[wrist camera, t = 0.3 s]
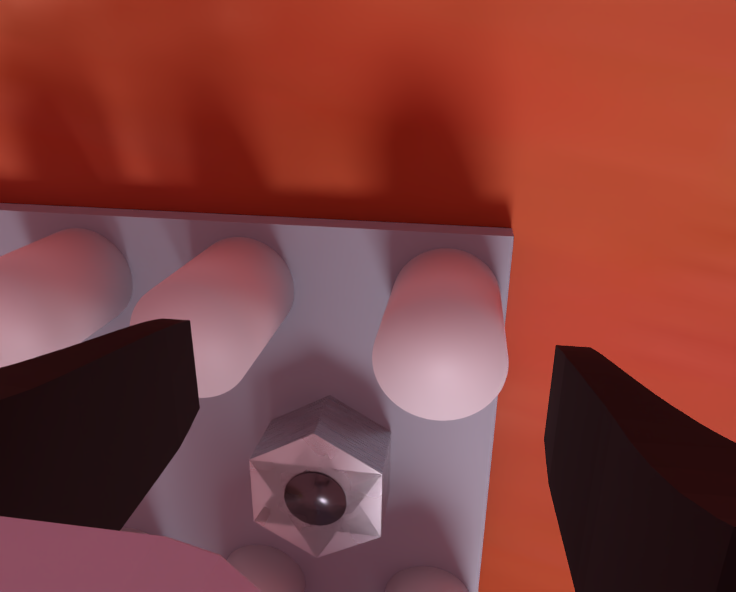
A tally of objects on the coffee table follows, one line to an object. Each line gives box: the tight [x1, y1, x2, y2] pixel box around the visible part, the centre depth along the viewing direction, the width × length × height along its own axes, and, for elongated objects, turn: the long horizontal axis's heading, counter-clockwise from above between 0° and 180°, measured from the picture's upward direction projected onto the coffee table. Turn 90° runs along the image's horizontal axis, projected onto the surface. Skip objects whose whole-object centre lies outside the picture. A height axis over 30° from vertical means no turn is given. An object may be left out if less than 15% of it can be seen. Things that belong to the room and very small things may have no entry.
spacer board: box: [0, 203, 514, 592], centre depth 23 cm, size 18×23×6 cm
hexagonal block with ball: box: [249, 395, 391, 558], centre depth 22 cm, size 5×5×3 cm
